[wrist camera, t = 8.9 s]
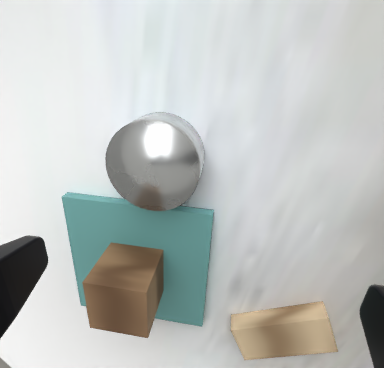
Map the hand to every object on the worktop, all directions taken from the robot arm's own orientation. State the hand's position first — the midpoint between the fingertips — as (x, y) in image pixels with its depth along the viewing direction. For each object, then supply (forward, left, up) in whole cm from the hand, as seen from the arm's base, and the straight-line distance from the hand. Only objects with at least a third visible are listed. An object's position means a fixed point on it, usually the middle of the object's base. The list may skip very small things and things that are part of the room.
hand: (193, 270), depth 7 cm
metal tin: (+4, +1, -12) cm, 13 cm away
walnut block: (+6, +11, -11) cm, 17 cm away
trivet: (+6, +11, -12) cm, 17 cm away
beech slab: (-7, +16, -12) cm, 21 cm away
